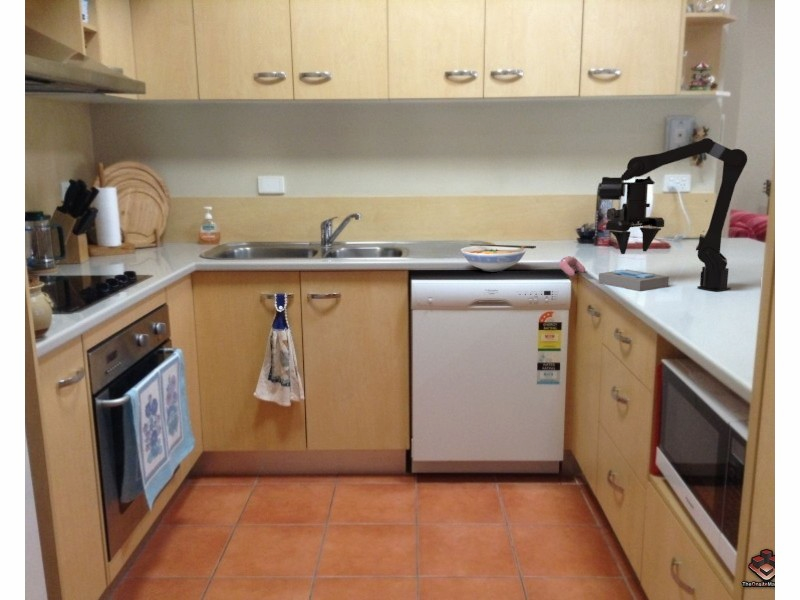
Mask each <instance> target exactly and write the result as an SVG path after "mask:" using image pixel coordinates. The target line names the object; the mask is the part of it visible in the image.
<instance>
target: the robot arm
mask: <svg viewBox="0 0 800 600" xmlns="http://www.w3.org/2000/svg"><path fill="white" fill-rule="evenodd" d="M702 154H707V155H709V156H711V157H713V158H715V159H718V160H719V161H722V163H723V165H722V172H721V173H722V174H721V175H722V176H721V183H720V187H719V191H718V194H717V198H716V200H715V205H714V208H713V211H712V216H711V218H710V221H709V222H710V223H709V225H708V228H707V231H706V232H705V234H702V233H700V234H699V240H698V244H697V245H696V247H695V251H697V258H698V259H699V261H700V262H702V263H703V264H704V266H702V267H701V271H700V276H699V277H700V279H699V285H697V287H696V288H697V289H700V290H705V291H706V290H707V291H711V292H721V291H726V290H727V291H728V290H731V287H730V286H728V281H729V270H730V269H729V268H728V267H727V266H728V259H727V257H726V256H725V255H723V254H722V253H721V246H722V245H721V244H722V235H723V234H722V232H723V230H724V225H725V222H726V219H727V215H728V212H729V209H730V205H731V201H732V198H733V194H734V191H735V187H736V184H737V183H738V180H739V179H740V177H741V175H742V173H743V171H744V168H745V166H746V164H747V162H748V155H747V153H746V152H745V151H744V150H743V149H739V148H733V149H730V148H729V147H726V146H724V145H723V144H720V143H717V142H716V141H713V139H712V138H709V137H706V138H702V139H701V140H698V141H695V142H692V143H689V144H686V145H682V146H679V147H676V148H672V149H669V150H667V151H663V152H660V153H654V154H647V155H642V156H641V155H639V156H634V157H632V158H630V159H629V161H628V163H627V166H626V170H625V171H624V172H623V173H622V174H621V176H620V177H609V176H603V177H601V178H602V179H601V184H600V187H599V199H600V200H601V201H603V200H604V201H620V200H621V199H622V198H623V197H625V196H626V203H625V202H624V203H623V204H622V205H621V206H622V207H621V208H620V209H617V208H616V207H613V208H608V209H607V210H606V219H607V220H608V221H607V222H606V223H605V230H607V231H608V232H609V233H611V234H612V235H613V236H614V237H615V239H616V241H617V244H618V249H619V252H620V254H621V255H625V254H626V251H627V248H628V245H629V244H628V243H629V240H630V236H631V231H629V230H630V228H637V227H639V230H640V231H641V234H642V251H643V252H644V253H646V252H647V251H648V250H649V248H650V246H651V244H652V243H653V240H654V239H655V237H656V236H657V234H658V233H659V232H660V231H661V230H662V228H664V227H665V219H664V218H663V217H659V216H647V208H650V206H651V203H648V189H649V188H648V186H649V185H655V183H656V182H655V180H654V179H652V178H651V176H650V175H648V176H647V177H646V178H639V177H642V176H644V175H647V174H649V173H651V172H653V171H655V170H657V169H659V168H661V167H663V166H665V165H669V164H672V163H676V162H680V161H682V160H685V159H689V158H692V157H695V156H698V155H702ZM633 178H635V180H634V182H626V181H629V180H632V179H633ZM624 181H625V182H624ZM625 194H626V195H625Z"/></svg>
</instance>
